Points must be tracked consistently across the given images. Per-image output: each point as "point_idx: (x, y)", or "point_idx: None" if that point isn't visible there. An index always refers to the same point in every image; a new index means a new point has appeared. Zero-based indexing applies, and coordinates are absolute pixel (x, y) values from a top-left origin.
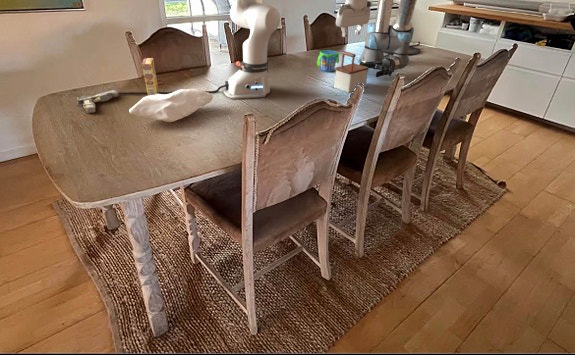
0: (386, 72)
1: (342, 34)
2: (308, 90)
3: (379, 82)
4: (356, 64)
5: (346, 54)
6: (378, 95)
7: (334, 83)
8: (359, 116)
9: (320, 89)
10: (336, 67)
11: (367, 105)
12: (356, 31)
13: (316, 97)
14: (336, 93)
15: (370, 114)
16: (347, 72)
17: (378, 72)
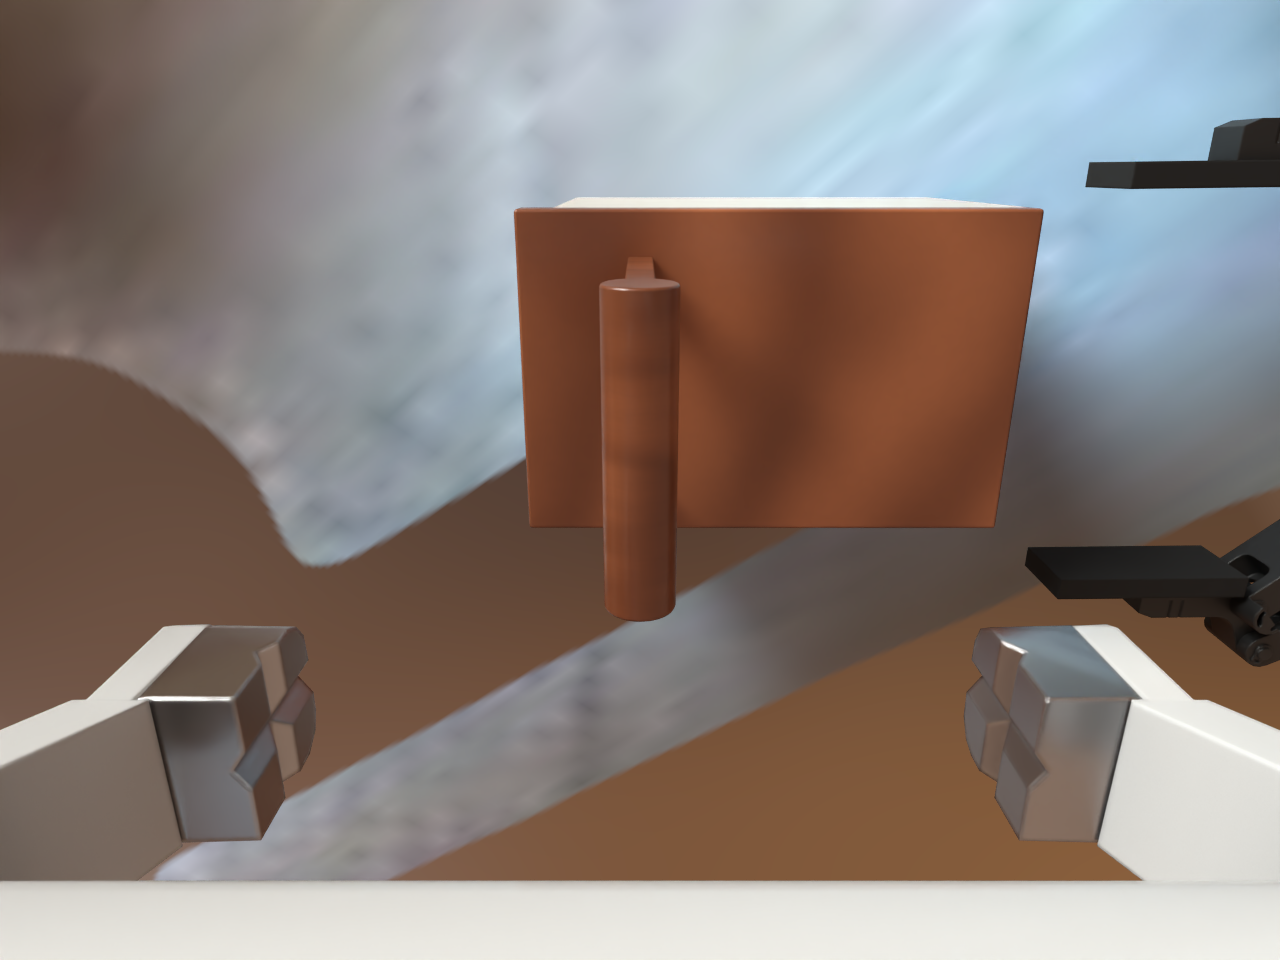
0: (1210, 612)
1: (138, 668)
2: (193, 70)
3: (1199, 427)
4: (1002, 301)
5: (602, 423)
6: (774, 669)
7: (572, 199)
8: (214, 847)
9: (363, 144)
10: (552, 213)
11: (460, 755)
12: (1024, 736)
13: (139, 322)
14: (438, 371)
15: (326, 871)
16: (529, 482)
17: (1070, 595)
